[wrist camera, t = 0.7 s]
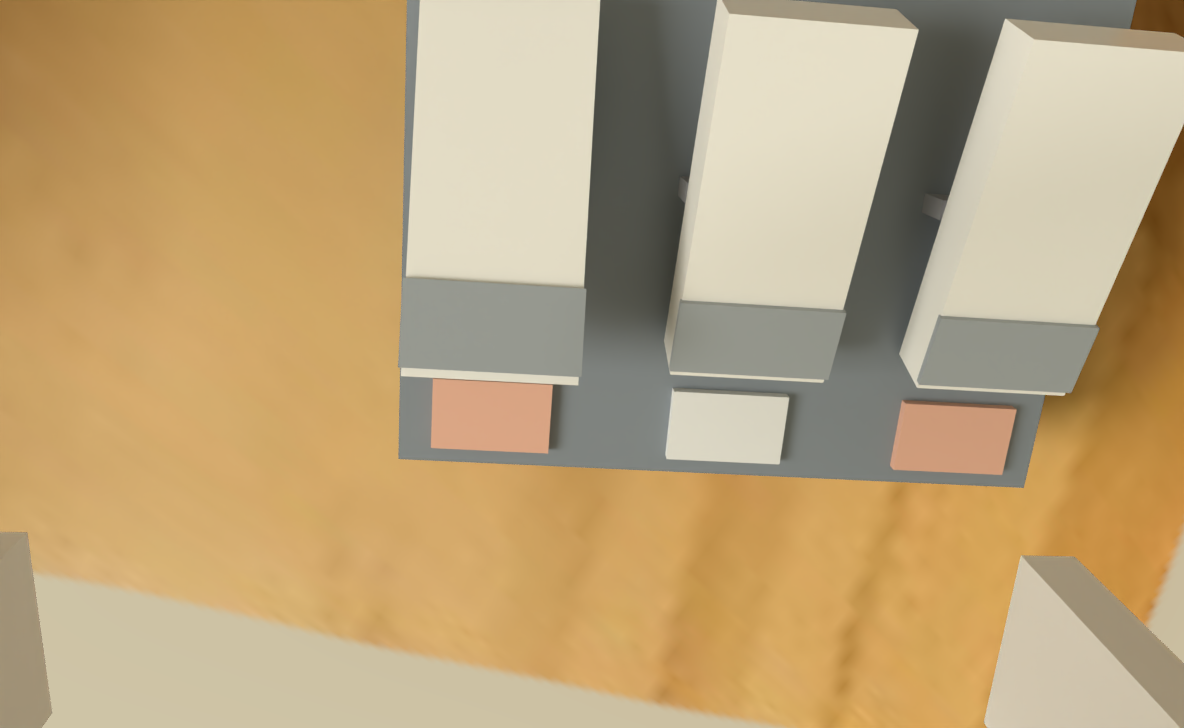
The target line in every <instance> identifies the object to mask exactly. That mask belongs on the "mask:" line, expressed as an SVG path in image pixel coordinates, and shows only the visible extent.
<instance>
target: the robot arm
mask: <svg viewBox="0 0 1184 728" xmlns="http://www.w3.org/2000/svg"><path fill="white" fill-rule="evenodd" d="M51 714H52V709H51V702H50V694H49V687H48V680H47V673H46V665H45V658H44V650H43V643H42V636H41V629H40V622H39V615H38V607H37V600H36V592H35V585H34V578H33V570H32V563H31V556H30V549H29V541H28V534H27V532H0V728H42V726H43V725H44V724H45V722H46V721H47V720H48V718H49V717H50V715H51ZM984 723H985V725H986V726H987V728H1184V663H1183V662H1182V661H1181V660H1180V659H1179V658H1178V657H1177V656H1176V655H1175V654H1174V653H1173V652H1172V651H1171V650H1169V648H1167V647H1166V646H1165V645H1164V644H1163V643H1162V642H1161V641H1160V640H1159V639H1158V638H1157V637H1156V636H1155V635H1154V634H1153V633H1152V632H1151V631H1150V630H1149V629H1148V628H1147V627H1146V626H1145V625H1144V624H1143V623H1142V622H1141V621H1140V620H1139V619H1138V618H1137V617H1136V616H1135V615H1134V614H1133V613H1132V612H1131V611H1130V610H1129V609H1128V608H1127V607H1126V606H1125V605H1123V604H1122V603H1121V602H1120V601H1119V600H1118V599H1117V598H1116V597H1115V596H1114V595H1113V594H1112V593H1111V592H1110V591H1109V590H1108V589H1107V588H1106V587H1105V586H1104V585H1103V584H1102V583H1101V582H1100V581H1099V580H1098V579H1097V578H1096V577H1095V576H1094V575H1093V574H1092V573H1091V572H1090V571H1089V570H1088V569H1087V568H1086V567H1085V566H1084V565H1083V564H1081V563H1080V562H1079V561H1078V560H1077V559H1076V558H1075V557H1065V556H1022V555H1021V557H1020V562H1019V566H1018V571H1017V576H1016V580H1015V585H1014V589H1013V594H1012V598H1011V603H1010V607H1009V612H1008V616H1007V621H1006V625H1005V630H1004V634H1003V639H1002V643H1001V648H1000V652H999V657H998V661H997V666H996V670H995V675H994V679H993V684H992V688H991V693H990V697H989V702H988V706H987V711H986V715H985V720H984Z"/></svg>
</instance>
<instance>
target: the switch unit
mask: <svg viewBox="0 0 1184 728" xmlns="http://www.w3.org/2000/svg"><path fill="white" fill-rule="evenodd" d="M796 1H807V2H819V3H830V4H842V5H854V6H865V7H877V8H889V9H897V10H898V11H899V12H900V13H901V14H902V15H903V16H904V17H905V18H907V19H908V20H909V21H910V22H911V23H912V24H913V25H914V26H915V27H916V28H917V29H919V31H918V35H917V38H916V42H915V46H914V49H913V53H912V57H911V60H910V64H909V68H908V71H907V75H906V79H905V83H904V86H903V90H902V94H901V97H900V101H899V105H898V108H897V112H896V116H895V120H894V123H893V127H892V131H891V134H890V138H889V142H888V145H887V149H886V153H885V157H884V160H883V164H882V168H881V171H880V175H879V179H878V182H877V186H876V190H875V194H874V197H873V201H872V205H871V208H870V212H869V216H868V219H867V223H866V227H865V230H864V234H863V238H862V242H861V245H860V249H859V253H858V256H857V260H856V264H855V267H854V271H853V275H852V279H851V282H850V286H849V290H848V293H847V297H846V301H845V304H844V308H843V309H845V311H846V317H845V321H844V324H843V328H842V332H841V335H840V339H839V343H838V346H837V350H836V354H835V357H834V361H833V365H832V368H831V372H830V375H829V379H828V380H824V382H823V383H817V382H799V381H780V380H762V379H743V378H725V377H706V376H688V375H670V371H669V366H668V360H667V354H666V349H665V343H664V337H665V331H666V325H667V318H668V312H669V305H670V299H671V293H672V286H673V280H674V273H675V267H676V261H677V254H678V248H679V241H680V235H681V229H682V222H683V216H684V209H685V203H686V197H687V190H688V184H689V178H690V171H691V165H692V158H693V152H694V146H695V139H696V133H697V126H698V120H699V114H700V107H701V101H702V94H703V88H704V82H705V75H706V69H707V62H708V56H709V50H710V43H711V37H712V30H713V24H714V18H715V11H716V5H717V0H600V13H599V30H598V48H597V66H596V83H595V101H594V118H593V136H592V153H591V171H590V188H589V206H588V223H587V241H586V258H585V276H584V289H586V305H585V323H584V340H583V358H582V375H581V377H579V381H578V385H559V384H540V383H521V382H502V381H483V380H465V379H446V378H427V377H408V376H401V368H400V408H399V459H411V460H433V461H454V462H476V463H498V464H520V465H541V466H563V467H585V468H606V469H628V470H650V471H672V472H693V473H715V474H737V475H758V476H780V477H802V478H824V479H845V480H867V481H889V482H910V483H932V484H954V485H976V486H997V487H1019V488H1024V484H1025V480H1026V476H1027V471H1028V467H1029V463H1030V458H1031V454H1032V450H1033V445H1034V441H1035V437H1036V433H1037V428H1038V424H1039V420H1040V415H1041V411H1042V407H1043V402H1044V398H1045V395H1039V394H1021V393H1002V392H984V391H965V390H947V389H928V388H917V387H916V385H915V383H914V381H913V379H912V377H911V375H910V374H909V372H908V370H907V368H906V366H905V364H904V362H903V360H902V358H901V356H900V355H899V353H900V349H901V346H902V343H903V340H904V337H905V334H906V331H907V327H908V324H909V321H910V318H911V315H912V312H913V308H914V305H915V302H916V299H917V296H918V293H919V289H920V286H921V283H922V280H923V277H924V274H925V270H926V267H927V264H928V261H929V258H930V255H931V251H932V248H933V245H934V242H935V239H936V236H937V233H938V229H939V226H940V223H941V220H942V217H943V214H944V210H945V207H946V204H947V201H948V198H949V195H950V191H951V188H952V185H953V182H954V179H955V176H956V172H957V169H958V166H959V163H960V160H961V157H962V153H963V150H964V147H965V144H966V141H967V138H968V135H969V131H970V128H971V125H972V122H973V119H974V116H975V112H976V109H977V106H978V103H979V100H980V97H981V93H982V90H983V87H984V84H985V81H986V78H987V74H988V71H989V68H990V65H991V62H992V59H993V55H994V52H995V49H996V46H997V43H998V40H999V36H1000V33H1001V30H1002V27H1003V24H1004V21H1005V19H1016V20H1028V21H1040V22H1051V23H1063V24H1075V25H1086V26H1098V27H1110V28H1121V29H1130V27H1131V22H1132V18H1133V14H1134V9H1135V5H1136V1H1137V0H796ZM419 7H420V0H407V31H406V85H405V139H404V192H403V246H402V283H403V278H406V263H407V244H408V224H409V204H410V185H411V165H412V145H413V125H414V106H415V86H416V66H417V47H418V27H419ZM401 302H402V300H401Z"/></svg>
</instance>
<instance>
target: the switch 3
mask: <svg viewBox="0 0 1184 728" xmlns="http://www.w3.org/2000/svg"><path fill="white" fill-rule="evenodd" d="M1183 125H1184V38H1183V37H1181V36H1179V35H1178V34H1176V33H1168V32H1156V31H1144V30H1133V29H1121V28H1110V27H1098V26H1086V25H1075V24H1063V23H1051V22H1040V21H1028V20H1016V19H1005V21H1004V24H1003V27H1002V30H1001V33H1000V36H999V40H998V43H997V46H996V49H995V52H994V55H993V59H992V62H991V65H990V68H989V71H988V74H987V78H986V81H985V84H984V87H983V90H982V93H981V97H980V100H979V103H978V106H977V109H976V112H975V116H974V119H973V122H972V125H971V128H970V131H969V135H968V138H967V141H966V144H965V147H964V150H963V153H962V157H961V160H960V163H959V166H958V169H957V172H956V176H955V179H954V182H953V185H952V188H951V191H950V195H949V198H948V201H947V204H946V207H945V210H944V214H943V217H942V220H941V223H940V226H939V229H938V233H937V236H936V239H935V242H934V245H933V248H932V251H931V255H930V258H929V261H928V264H927V267H926V270H925V274H924V277H923V280H922V283H921V286H920V289H919V293H918V296H917V299H916V302H915V305H914V308H913V312H912V315H911V318H910V321H909V324H908V327H907V331H906V334H905V337H904V340H903V343H902V346H901V349H900V353H899V355H900V356H901V358H902V360H903V362H904V364H905V366H906V368H907V370H908V372H909V374H910V375H911V377H912V379H913V381H914V383H915V385H916V387H917V388H928V389H947V390H965V391H984V392H1002V393H1021V394H1039V395H1058V396H1064V395H1065V393H1071V392H1072V390H1073V388H1074V386H1075V383H1076V381H1077V379H1078V377H1079V374H1080V372H1081V370H1082V368H1083V365H1084V363H1085V361H1086V359H1087V356H1088V354H1089V352H1090V350H1091V347H1092V345H1093V343H1094V341H1095V338H1096V336H1097V334H1098V332H1099V329H1100V328H1099V327H1098V326H1097V324H1096V322H1097V320H1098V318H1099V315H1100V313H1101V311H1102V309H1103V306H1104V304H1105V302H1106V300H1107V297H1108V295H1109V293H1110V290H1111V288H1112V286H1113V284H1114V281H1115V279H1116V277H1117V275H1118V272H1119V270H1120V268H1121V265H1122V263H1123V261H1124V259H1125V256H1126V254H1127V252H1128V250H1129V247H1130V245H1131V243H1132V240H1133V238H1134V236H1135V234H1136V231H1137V229H1138V227H1139V225H1140V222H1141V220H1142V218H1143V215H1144V213H1145V211H1146V209H1147V206H1148V204H1149V202H1150V200H1151V197H1152V195H1153V193H1154V190H1155V188H1156V186H1157V184H1158V181H1159V179H1160V177H1161V175H1162V172H1163V170H1164V168H1165V165H1166V163H1167V161H1168V159H1169V156H1170V154H1171V152H1172V150H1173V147H1174V145H1175V143H1176V140H1177V138H1178V136H1179V134H1180V131H1181V129H1182V127H1183Z"/></svg>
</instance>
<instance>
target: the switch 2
mask: <svg viewBox="0 0 1184 728" xmlns="http://www.w3.org/2000/svg"><path fill="white" fill-rule="evenodd" d="M918 31H919V29H917V28H916V27H915V26H914V25H913V24H912V23H911V22H910V21H909V20H908V19H907V18H905V17H904V16H903V15H902V14H901V13H900V12H899V11H898V10H897V9H889V8H877V7H865V6H854V5H842V4H830V3H819V2H807V1H796V0H717V5H716V11H715V18H714V24H713V30H712V37H711V43H710V50H709V56H708V62H707V69H706V75H705V82H704V88H703V94H702V101H701V107H700V114H699V120H698V126H697V133H696V139H695V146H694V152H693V158H692V165H691V171H690V178H689V184H688V190H687V197H686V203H685V209H684V216H683V222H682V229H681V235H680V241H679V248H678V254H677V261H676V267H675V273H674V280H673V286H672V293H671V299H670V305H669V312H668V318H667V325H666V331H665V337H664V343H665V349H666V354H667V360H668V366H669V371H670V375H688V376H706V377H725V378H743V379H762V380H780V381H799V382H817V383H823V382H824V380H828V379H829V375H830V372H831V368H832V365H833V361H834V357H835V354H836V350H837V346H838V343H839V339H840V335H841V332H842V328H843V324H844V321H845V317H846V311H845V309H843V308H844V304H845V301H846V297H847V293H848V290H849V286H850V282H851V279H852V275H853V271H854V267H855V264H856V260H857V256H858V253H859V249H860V245H861V242H862V238H863V234H864V230H865V227H866V223H867V219H868V216H869V212H870V208H871V205H872V201H873V197H874V194H875V190H876V186H877V182H878V179H879V175H880V171H881V168H882V164H883V160H884V157H885V153H886V149H887V145H888V142H889V138H890V134H891V131H892V127H893V123H894V120H895V116H896V112H897V108H898V105H899V101H900V97H901V94H902V90H903V86H904V83H905V79H906V75H907V71H908V68H909V64H910V60H911V57H912V53H913V49H914V46H915V42H916V38H917V35H918Z"/></svg>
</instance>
